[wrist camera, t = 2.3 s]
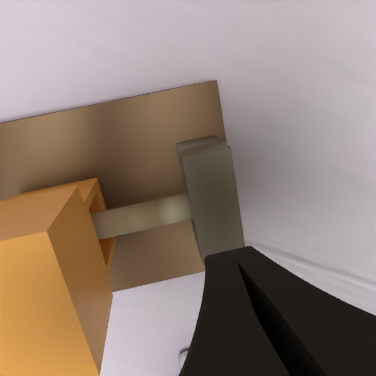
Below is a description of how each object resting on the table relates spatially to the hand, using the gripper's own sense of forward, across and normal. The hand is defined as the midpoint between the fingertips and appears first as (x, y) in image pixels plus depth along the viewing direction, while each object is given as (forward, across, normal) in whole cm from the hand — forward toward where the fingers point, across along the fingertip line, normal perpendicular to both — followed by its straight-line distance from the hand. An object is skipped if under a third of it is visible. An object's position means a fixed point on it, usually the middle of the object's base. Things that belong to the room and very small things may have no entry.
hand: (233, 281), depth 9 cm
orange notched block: (+8, +7, 0) cm, 10 cm away
